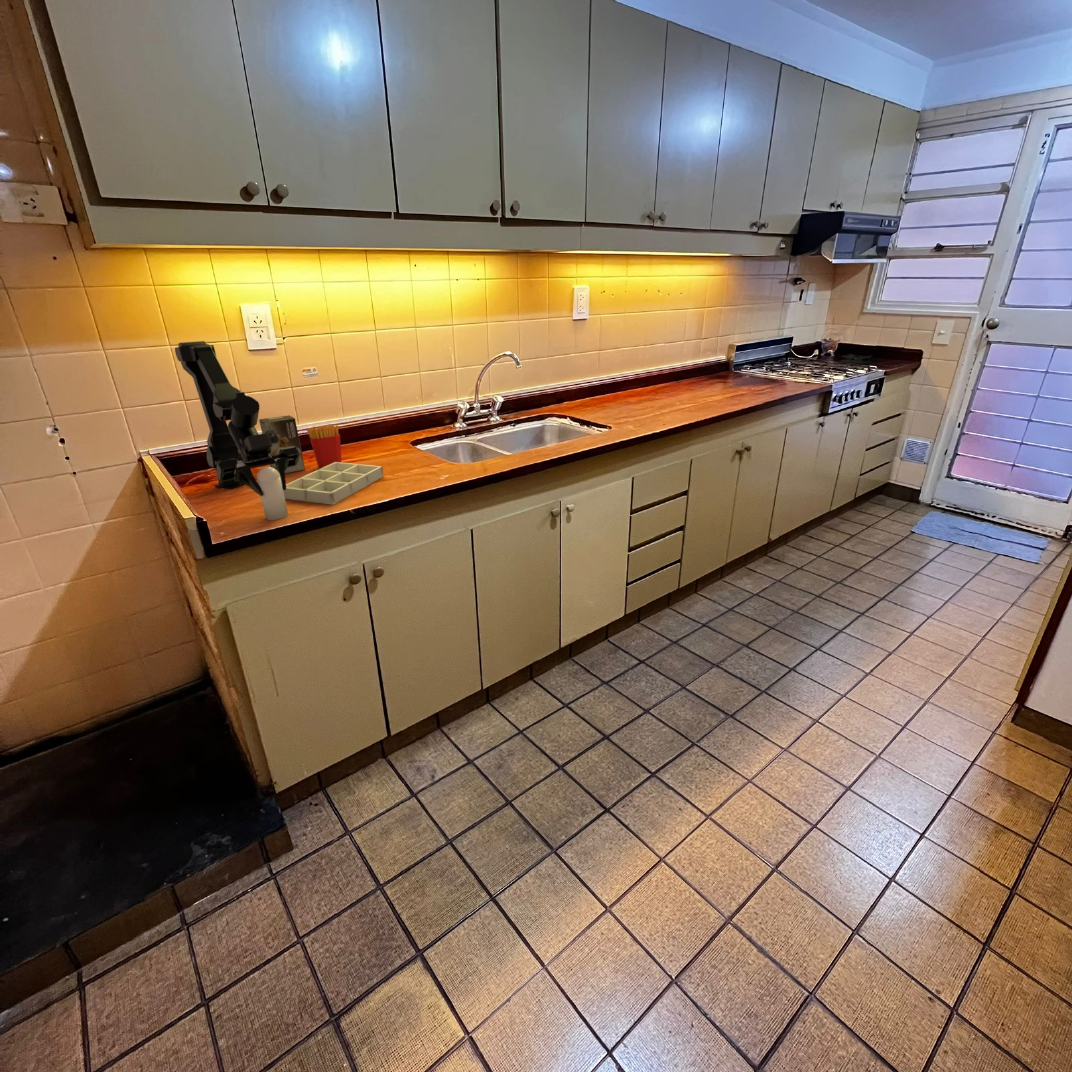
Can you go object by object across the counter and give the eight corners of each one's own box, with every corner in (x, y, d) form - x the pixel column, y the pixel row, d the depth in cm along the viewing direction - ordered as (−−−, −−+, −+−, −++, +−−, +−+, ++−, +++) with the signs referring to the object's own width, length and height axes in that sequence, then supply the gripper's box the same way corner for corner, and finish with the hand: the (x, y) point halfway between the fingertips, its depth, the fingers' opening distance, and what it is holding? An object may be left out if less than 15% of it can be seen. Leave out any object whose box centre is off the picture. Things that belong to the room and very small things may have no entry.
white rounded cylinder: (260, 518, 139) (249, 469, 134) (275, 511, 143) (265, 463, 138) (278, 521, 137) (267, 471, 132) (292, 513, 142) (283, 465, 137)
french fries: (342, 462, 182) (335, 422, 176) (345, 465, 178) (339, 424, 173) (312, 467, 177) (305, 426, 172) (315, 470, 174) (308, 428, 169)
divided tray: (281, 498, 152) (279, 487, 151) (336, 471, 173) (335, 461, 171) (333, 504, 147) (331, 493, 146) (383, 476, 168) (382, 466, 167)
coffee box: (300, 465, 180) (290, 414, 173) (305, 469, 175) (296, 418, 168) (269, 470, 175) (258, 418, 168) (274, 475, 170) (263, 422, 163)
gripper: (207, 426, 127) (235, 484, 125) (289, 413, 139) (317, 466, 136) (205, 453, 136) (232, 508, 133) (283, 439, 148) (308, 489, 145)
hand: (273, 492), depth 137 cm, fingers closed on white rounded cylinder, 5 cm apart
